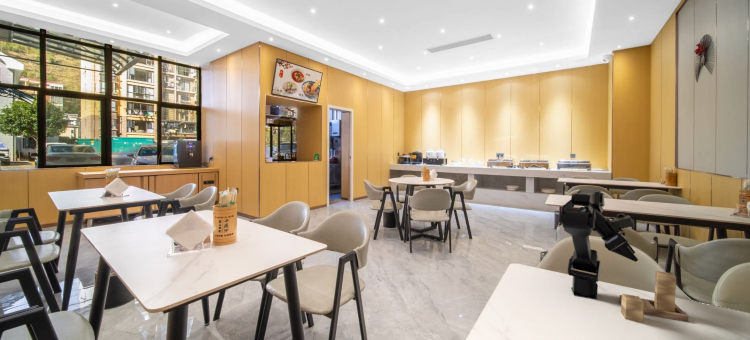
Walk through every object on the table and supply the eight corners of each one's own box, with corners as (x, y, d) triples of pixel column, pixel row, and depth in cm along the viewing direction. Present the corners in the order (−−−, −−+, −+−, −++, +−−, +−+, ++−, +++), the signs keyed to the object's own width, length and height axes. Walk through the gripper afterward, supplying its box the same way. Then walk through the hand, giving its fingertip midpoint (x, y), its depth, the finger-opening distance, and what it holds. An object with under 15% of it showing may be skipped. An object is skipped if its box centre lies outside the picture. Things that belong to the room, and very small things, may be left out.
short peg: (625, 319, 88) (626, 299, 87) (621, 312, 91) (621, 293, 91) (642, 322, 86) (643, 302, 86) (637, 315, 90) (638, 296, 89)
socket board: (627, 310, 92) (627, 305, 92) (619, 299, 99) (619, 294, 99) (688, 321, 86) (688, 316, 86) (675, 308, 93) (675, 303, 93)
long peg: (656, 312, 91) (657, 274, 90) (654, 307, 94) (655, 270, 94) (674, 317, 89) (676, 277, 88) (671, 311, 92) (673, 273, 91)
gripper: (619, 211, 96) (664, 251, 90) (615, 203, 111) (654, 237, 105) (588, 231, 102) (629, 270, 95) (589, 221, 116) (624, 254, 110)
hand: (635, 257), depth 102 cm, fingers open, 9 cm apart
